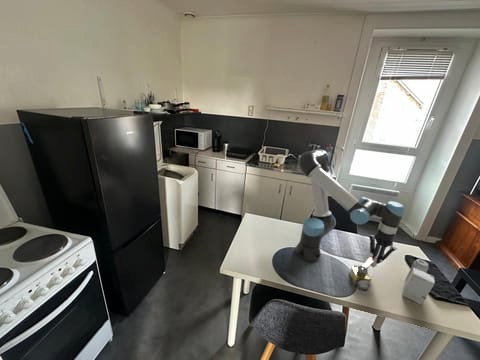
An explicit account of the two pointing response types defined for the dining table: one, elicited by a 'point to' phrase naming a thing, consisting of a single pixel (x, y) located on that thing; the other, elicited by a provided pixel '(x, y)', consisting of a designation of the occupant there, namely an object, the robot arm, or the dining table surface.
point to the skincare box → (418, 286)
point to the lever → (365, 267)
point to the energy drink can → (419, 266)
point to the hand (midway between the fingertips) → (373, 266)
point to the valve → (360, 279)
